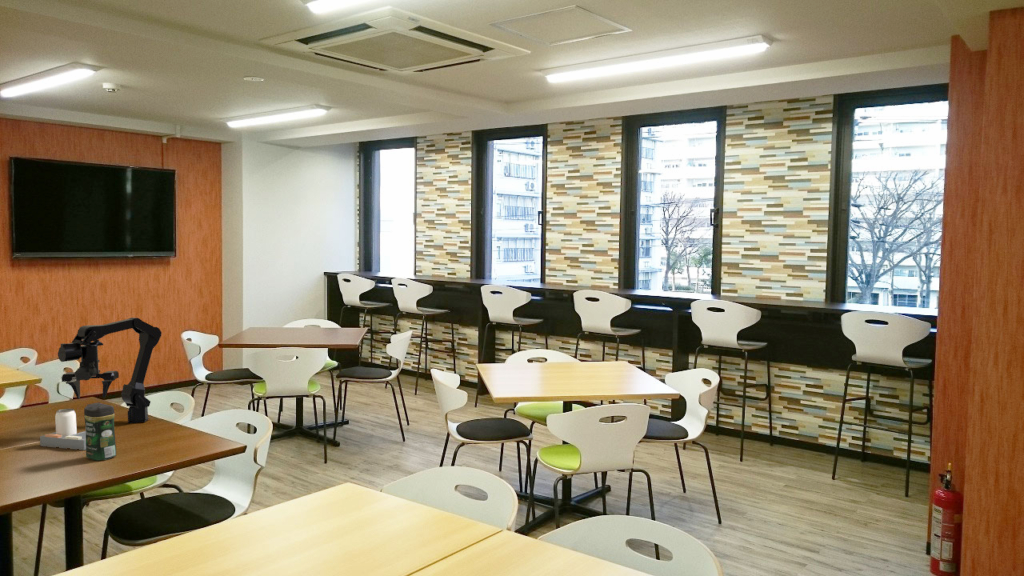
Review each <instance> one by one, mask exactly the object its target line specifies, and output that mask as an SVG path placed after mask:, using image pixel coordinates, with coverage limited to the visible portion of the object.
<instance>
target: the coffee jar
mask: <svg viewBox="0 0 1024 576" xmlns="http://www.w3.org/2000/svg"><path fill="white" fill-rule="evenodd" d="M115 415H116V414H115V407H114V406H113V405H110V404H106V403H105V404H104V403H101V402H94V403H89V404H88V403H87V405H85V407H84V410H83V417H84V425H85V426H84V427H85V431H86V450H85V457H86V458H87V459H89V460H93V461H95V462H96V461H106V460H110V459H112V458H114V457H116V456H117V446H116V445H117V444H116V432H115V431H116V430H115Z"/></svg>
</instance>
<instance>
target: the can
mask: <svg viewBox="0 0 1024 576" xmlns="http://www.w3.org/2000/svg"><path fill="white" fill-rule="evenodd" d="M54 420H55V422H54V423H55V432H56V434H58V435H62V437H65V436H69V435H73V434H77V433H78V431H77V414H76V411H75V409H74V408H64V409H58V410H56V413H55V417H54Z"/></svg>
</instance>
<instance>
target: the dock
mask: <svg viewBox="0 0 1024 576" xmlns="http://www.w3.org/2000/svg"><path fill="white" fill-rule="evenodd" d="M39 444H40V445H39V446H40V447H46V446H47V447H48V448H56V447H59V448H58V449H67V448H70V449H69V450H77V449H79V450H80V451H86V430H84V431H80V432H77V434H73V435H69V436H65V437H62V435H58V434H56V431H54V432H52V433H51V432H50V433H46V434H43V435H40V436H39ZM79 450H78V451H79Z"/></svg>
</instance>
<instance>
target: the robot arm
mask: <svg viewBox="0 0 1024 576" xmlns="http://www.w3.org/2000/svg"><path fill="white" fill-rule="evenodd" d="M131 329H132V330H133V331H134V333H137V334H138V343H139V350H138V354H137V357H136V361H135V364H134V367H133V371H132V375H131V379H130V381H129V382H128V384H123V386H122V390H121V392H120V395H121V400H122V401H123V403H125V405H126V407H128V411H127V424H138V422H144V423H146V422H147V421H149V420H150V419H149V418H150V417H149V411H148V408H149V407H150V405H151V400H149V399H148V398H147V397H146V396H145V393H146V389H145V379H146V375H147V372H148V367H149V364H150V361H151V357H152V354H153V350H154V349H155V347H156V346H158V343H159V342H160V339H161V337H162V331H161V329H160V328H159V327H157V326H153V325H151V324H149V322H148V323H147V322H146V321H144V320H142V319H141V318H140V317H130V318H126V319H121V320H117V321H113V322H108V323H105V324H94V325H93V324H91V325H82V326H80V327H79V328H78V330H77V334H76V335H75V337H74V338H73V340H72V341H71V342H70V343H63V342H62V343H60V347H59V348H58V351H57V358H58V359H59V361H60V362H61V363H63V362H72V361H73V362H74V361H78V360H80V362H79V367H78V368H77V369H76V371H71V372H69V371H68V372H65V373H64V374H62V375H61V383H62V382H63V383H65V384H66V385H69V386H70V387H71V389H72V390H73V392H74V394H75V397H76V399H77V400H80V398H81V381H89V380H91V379H103V380H102V381H101V384H102V398H103V399H105V398H106V396H107V394H108V391H109V389H110V386H111V385H112V382H113V381H116V379H118V378H120V377H119V376H120V374H119V371H117V370H107V371H105V372H101V369H99V367H100V366H99V363H100V362H101V361H100V359H99V353H98V352H99V350H98V348H99V347H101V346H104V343H103V342H101V341H100V339H103V338H104V337H105V336H107V335H110V334H114V333H118V332H124V331H126V330H131ZM148 419H149V420H148ZM145 421H146V422H145Z"/></svg>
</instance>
